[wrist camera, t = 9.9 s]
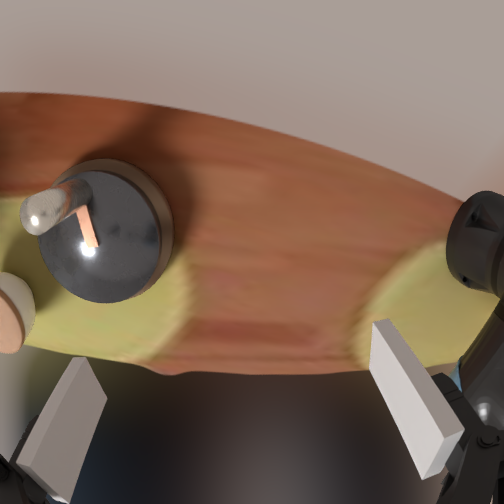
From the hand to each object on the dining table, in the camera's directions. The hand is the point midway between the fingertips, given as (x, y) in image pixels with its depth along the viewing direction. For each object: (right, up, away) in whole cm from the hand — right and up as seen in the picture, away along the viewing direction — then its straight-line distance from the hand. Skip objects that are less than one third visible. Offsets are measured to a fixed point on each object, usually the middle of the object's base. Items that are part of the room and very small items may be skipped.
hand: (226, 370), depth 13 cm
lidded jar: (-33, -1, +24) cm, 41 cm away
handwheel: (-16, +7, +20) cm, 27 cm away
